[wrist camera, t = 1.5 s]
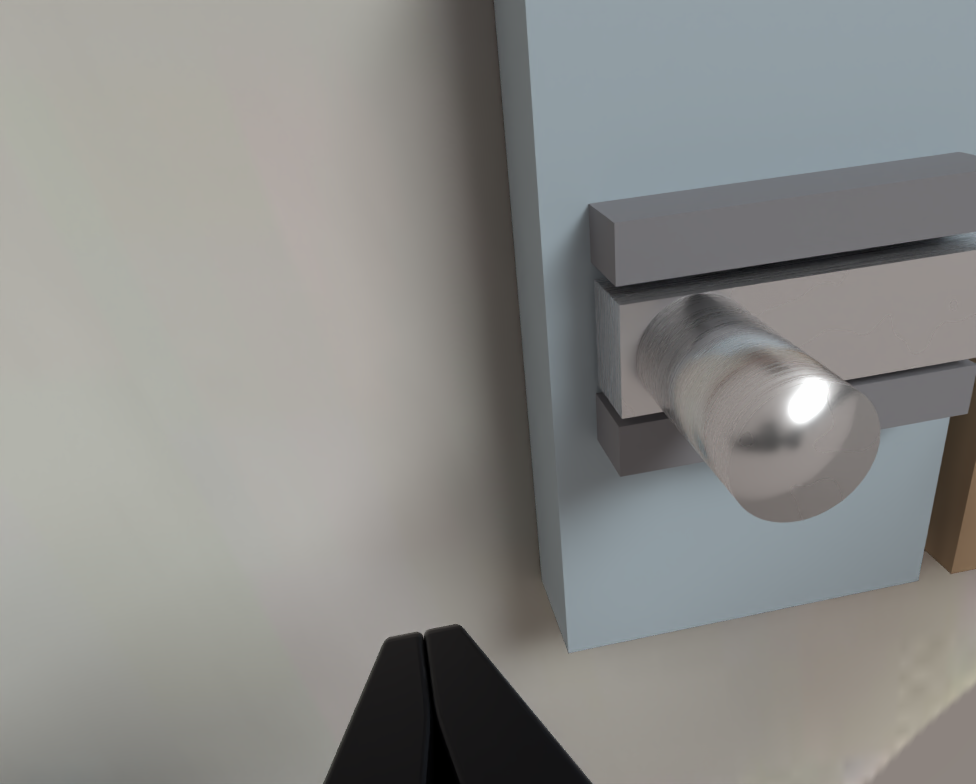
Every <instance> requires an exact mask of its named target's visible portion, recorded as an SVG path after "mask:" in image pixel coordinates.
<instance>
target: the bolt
mask: <svg viewBox="0 0 976 784" xmlns="http://www.w3.org/2000/svg"><path fill="white" fill-rule="evenodd" d="M594 288H595V316H596V344H597V371H598V386H599V387H600V388H601V390H602V391H603V393H604V394H605V396H606V397H607V398H608V400H609V401H610V403H611V404H612V405H613V407H614V408H615V410H616V411H617V412H618V414H619V415H620V417H621V418H622V419H624V418H630V417H636V416H641V415H647V414H653V413H659V412H664V413H665V414H666V415H667V417H668V418H669V419H670V420H671V421H672V423H673V424H674V425H675V426H676V428H677V429H678V430H679V431H680V432H681V434H682V435H683V436H684V437H685V438H686V440H687V441H688V442H689V443H690V444H691V446H692V447H693V448H694V449H695V451H696V452H697V453H698V454H699V455H700V457H701V458H702V459H703V460H704V461H705V463H706V464H707V465H708V466H709V467H710V469H711V470H712V471H713V472H714V474H715V475H716V476H717V477H718V478H719V480H720V481H721V482H722V483H723V484H724V486H725V487H726V488H727V489H728V491H729V492H730V493H731V494H732V495H733V497H734V498H735V499H736V500H737V501H738V503H739V504H740V505H741V506H742V507H743V508H744V509H745V510H746V511H747V512H748V513H750V514H752V515H753V516H755V517H758V518H760V519H762V520H766V521H770V522H779V523H785V522H796V521H801V520H805V519H809V518H811V517H814V516H817V515H819V514H821V513H823V512H826V511H827V510H829V509H831V508H832V507H834V506H836V505H837V504H839V503H840V502H841V501H843V500H844V499H845V498H846V497H847V496H849V495H850V494H851V493H852V492H853V491H854V490H855V489H856V488H857V487H858V485H859V484H860V483H861V482H862V480H863V479H864V478H865V476H866V475H867V473H868V472H869V470H870V468H871V466H872V464H873V462H874V460H875V457H876V455H877V452H878V448H879V443H880V433H881V432H880V422H879V417H878V414H877V412H876V410H875V408H874V406H873V404H872V403H871V401H870V400H869V399H868V398H867V397H866V396H865V395H864V394H862V393H861V392H860V391H858V390H857V389H856V388H854V387H853V386H852V385H850V384H849V383H847V382H846V381H845V380H849V379H855V378H861V377H867V376H872V375H878V374H884V373H890V372H896V371H901V370H907V369H913V368H919V367H924V366H930V365H936V364H942V363H947V362H953V361H959V360H965V359H971V358H976V232H970V233H964V234H957V235H951V236H944V237H938V238H931V239H925V240H918V241H912V242H905V243H899V244H892V245H886V246H879V247H872V248H866V249H859V250H853V251H846V252H840V253H833V254H827V255H820V256H814V257H807V258H801V259H794V260H788V261H781V262H775V263H768V264H761V265H755V266H748V267H742V268H735V269H729V270H722V271H716V272H709V273H703V274H696V275H690V276H683V277H677V278H670V279H663V280H657V281H650V282H644V283H637V284H631V285H624V286H618V287H616V286H615V285H614V284H612V283H611V282H610V281H609V280H608V279H607V278H600V279H594Z"/></svg>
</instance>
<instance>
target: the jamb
mask: <svg viewBox="0 0 976 784" xmlns="http://www.w3.org/2000/svg"><path fill="white" fill-rule="evenodd" d="M968 360H970V361H972V362H974V363H976V358H971V359H968ZM924 550H925V551H926V552H928V553H929V554H930V555H931V556H932V557H933V558H934V559H935V560H936V561H937V562H939V563H940V564H941V565H942V566H943V567H944V568H945V569H946V570H947V571H948V572H950V573H951V574H953V573H958V572H963V571H968V570H973V569H976V376H975V381H974V386H973V391H972V396H971V401H970V406H969V410H968V414H964V415H958V416H953V417H950V420H949V425H948V430H947V435H946V440H945V446H944V451H943V456H942V461H941V466H940V471H939V476H938V482H937V487H936V492H935V497H934V502H933V507H932V512H931V517H930V523H929V528H928V533H927V538H926V543H925V548H924Z"/></svg>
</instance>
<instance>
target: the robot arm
mask: <svg viewBox="0 0 976 784" xmlns="http://www.w3.org/2000/svg"><path fill="white" fill-rule="evenodd" d="M323 784H592V782H591V781H590V780H589V779H588V778H587V776H586V775H585V774H584V773H583V772H582V770H581V769H580V768H579V767H578V766H577V764H576V763H575V762H574V761H573V760H572V758H571V757H570V756H569V755H568V754H567V752H566V751H565V750H564V749H563V747H562V746H561V745H560V744H559V743H558V741H557V740H556V739H555V738H554V737H553V735H552V734H551V733H550V732H549V731H548V729H547V728H546V727H545V726H544V725H543V723H542V722H541V721H540V720H539V719H538V717H537V716H536V715H535V714H534V713H533V711H532V710H531V709H530V708H529V706H528V705H527V704H526V703H525V702H524V700H523V699H522V698H521V697H520V696H519V694H518V693H517V692H516V691H515V690H514V688H513V687H512V686H511V685H510V684H509V682H508V681H507V680H506V679H505V678H504V676H503V675H502V674H501V673H500V671H499V670H498V669H497V668H496V667H495V665H494V664H493V663H492V662H491V661H490V659H489V658H488V657H487V656H486V655H485V653H484V652H483V651H482V650H481V649H480V647H479V646H478V645H477V644H476V643H475V641H474V640H473V639H472V638H471V636H470V635H469V634H468V633H467V632H466V630H465V629H464V628H463V627H462V626H460V625H458V624H453V625H448V626H443V627H438V628H433V629H429V630H427V631H426V632H425V634H424V638H423V635H422V634H421V633H419V632H413V633H408V634H403V635H398V636H393V637H389V638H387V639H386V640H385V641H384V643H383V645H382V647H381V649H380V652H379V654H378V656H377V659H376V661H375V663H374V666H373V668H372V670H371V673H370V675H369V677H368V680H367V682H366V684H365V687H364V689H363V691H362V694H361V696H360V698H359V701H358V703H357V706H356V708H355V710H354V713H353V715H352V717H351V720H350V722H349V724H348V727H347V729H346V731H345V734H344V736H343V738H342V741H341V743H340V745H339V748H338V750H337V752H336V755H335V757H334V760H333V762H332V764H331V767H330V769H329V771H328V774H327V776H326V778H325V781H324V783H323Z"/></svg>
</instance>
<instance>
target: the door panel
mask: <svg viewBox="0 0 976 784" xmlns="http://www.w3.org/2000/svg"><path fill="white" fill-rule="evenodd" d="M494 8H495V20H496V32H497V44H498V57H499V69H500V81H501V93H502V105H503V117H504V129H505V141H506V154H507V166H508V178H509V190H510V202H511V214H512V226H513V238H514V250H515V263H516V275H517V287H518V299H519V311H520V323H521V335H522V347H523V359H524V372H525V384H526V396H527V408H528V420H529V432H530V444H531V456H532V468H533V481H534V493H535V505H536V517H537V529H538V541H539V553H540V565H541V577H542V582H543V585H544V587H545V590H546V593H547V596H548V598H549V601H550V604H551V607H552V609H553V612H554V615H555V618H556V620H557V623H558V626H559V628H560V631H561V634H562V637H563V639H564V642H565V645H566V648H567V650H568V653H571V652H576V651H581V650H586V649H591V648H596V647H600V646H605V645H610V644H615V643H620V642H625V641H629V640H634V639H639V638H644V637H649V636H654V635H658V634H663V633H668V632H673V631H678V630H683V629H687V628H692V627H697V626H702V625H707V624H712V623H716V622H721V621H726V620H731V619H736V618H741V617H745V616H750V615H755V614H760V613H765V612H770V611H774V610H779V609H784V608H789V607H794V606H799V605H803V604H808V603H813V602H818V601H823V600H828V599H832V598H837V597H842V596H847V595H852V594H857V593H861V592H866V591H871V590H876V589H881V588H886V587H890V586H895V585H900V584H905V583H910V582H915V581H918V579H919V574H920V569H921V564H922V559H923V553H924V548H925V543H926V538H927V533H928V528H929V523H930V517H931V512H932V507H933V502H934V497H935V492H936V487H937V482H938V476H939V471H940V466H941V461H942V456H943V451H944V446H945V440H946V435H947V430H948V425H949V420H950V417H953V416H958V415H964V414H968V410H969V406H970V401H971V396H972V391H973V386H974V381H975V376H976V363H974V362H972V361H970V360H968V359H965V360H959V361H953V362H947V363H942V364H936V365H930V366H924V367H919V368H913V369H907V370H901V371H896V372H890V373H884V374H878V375H872V376H867V377H861V378H855V379H849V380H845V381H846V382H847V383H849V384H850V385H852V386H853V387H854V388H856V389H857V390H858V391H860V392H861V393H862V394H864V395H865V396H866V397H867V398H868V399H869V400H870V401H871V403H872V404H873V406H874V408H875V410H876V412H877V414H878V417H879V422H880V432H881V433H880V443H879V448H878V452H877V455H876V457H875V460H874V462H873V464H872V466H871V468H870V470H869V472H868V473H867V475H866V476H865V478H864V479H863V480H862V482H861V483H860V484H859V485H858V487H857V488H856V489H855V490H854V491H853V492H852V493H851V494H850V495H849V496H847V497H846V498H845V499H844V500H843V501H841V502H840V503H839V504H837V505H836V506H834V507H832V508H831V509H829V510H827V511H826V512H823V513H821V514H819V515H817V516H814V517H811V518H809V519H805V520H801V521H796V522H785V523H779V522H770V521H766V520H762V519H760V518H758V517H755V516H753V515H752V514H750V513H748V512H747V511H746V510H745V509H744V508H743V507H742V506H741V505H740V504H739V503H738V501H737V500H736V499H735V498H734V497H733V495H732V494H731V493H730V492H729V491H728V489H727V488H726V487H725V486H724V484H723V483H722V482H721V481H720V480H719V478H718V477H717V476H716V475H715V474H714V472H713V471H712V470H711V469H710V467H709V466H708V465H707V464H706V463H705V461H704V460H703V459H702V458H701V457H700V455H699V454H698V453H697V452H696V451H695V449H694V448H693V447H692V446H691V444H690V443H689V442H688V441H687V440H686V438H685V437H684V436H683V435H682V434H681V432H680V431H679V430H678V429H677V428H676V426H675V425H674V424H673V423H672V421H671V420H670V419H669V418H668V417H667V415H666V414H665V413H664V412H659V413H653V414H647V415H641V416H636V417H630V418H624V419H622V418H621V417H620V415H619V414H618V412H617V411H616V410H615V408H614V407H613V405H612V404H611V403H610V401H609V400H608V398H607V397H606V396H605V394H604V393H603V391H602V390H601V388H600V387H599V386H598V371H597V344H596V316H595V288H594V279H600V278H607V279H608V280H609V281H610V282H611V283H612V284H614V285H615V286H616V287H618V286H624V285H631V284H637V283H644V282H650V281H657V280H663V279H670V278H677V277H683V276H690V275H696V274H703V273H709V272H716V271H722V270H729V269H735V268H742V267H748V266H755V265H761V264H768V263H775V262H781V261H788V260H794V259H801V258H807V257H814V256H820V255H827V254H833V253H840V252H846V251H853V250H859V249H866V248H872V247H879V246H886V245H892V244H899V243H905V242H912V241H918V240H925V239H931V238H938V237H944V236H951V235H957V234H964V233H970V232H976V0H494Z"/></svg>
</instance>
